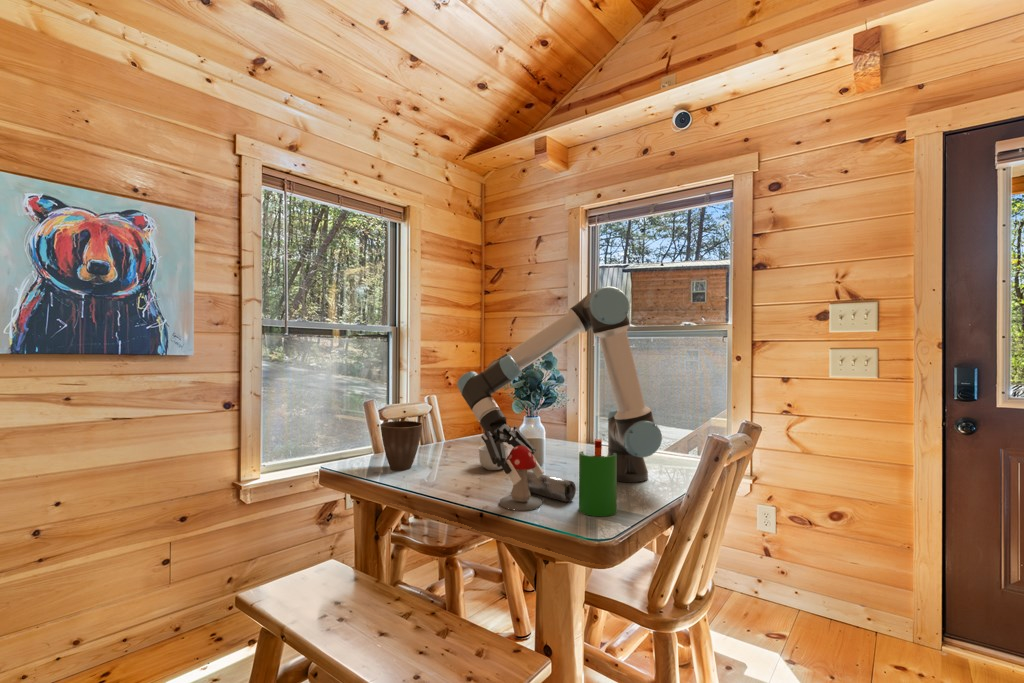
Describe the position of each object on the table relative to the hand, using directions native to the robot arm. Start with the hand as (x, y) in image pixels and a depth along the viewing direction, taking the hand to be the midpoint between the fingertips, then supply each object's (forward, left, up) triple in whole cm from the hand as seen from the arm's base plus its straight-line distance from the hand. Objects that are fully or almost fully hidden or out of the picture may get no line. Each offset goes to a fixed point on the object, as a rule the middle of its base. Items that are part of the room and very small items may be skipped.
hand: (529, 478), depth 146 cm
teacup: (-25, -39, -8) cm, 47 cm away
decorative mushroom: (0, -3, -6) cm, 7 cm away
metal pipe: (-11, -3, -8) cm, 14 cm away
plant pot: (-1, -62, -8) cm, 63 cm away
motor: (-10, +16, -8) cm, 21 cm away
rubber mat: (0, -3, -8) cm, 8 cm away
